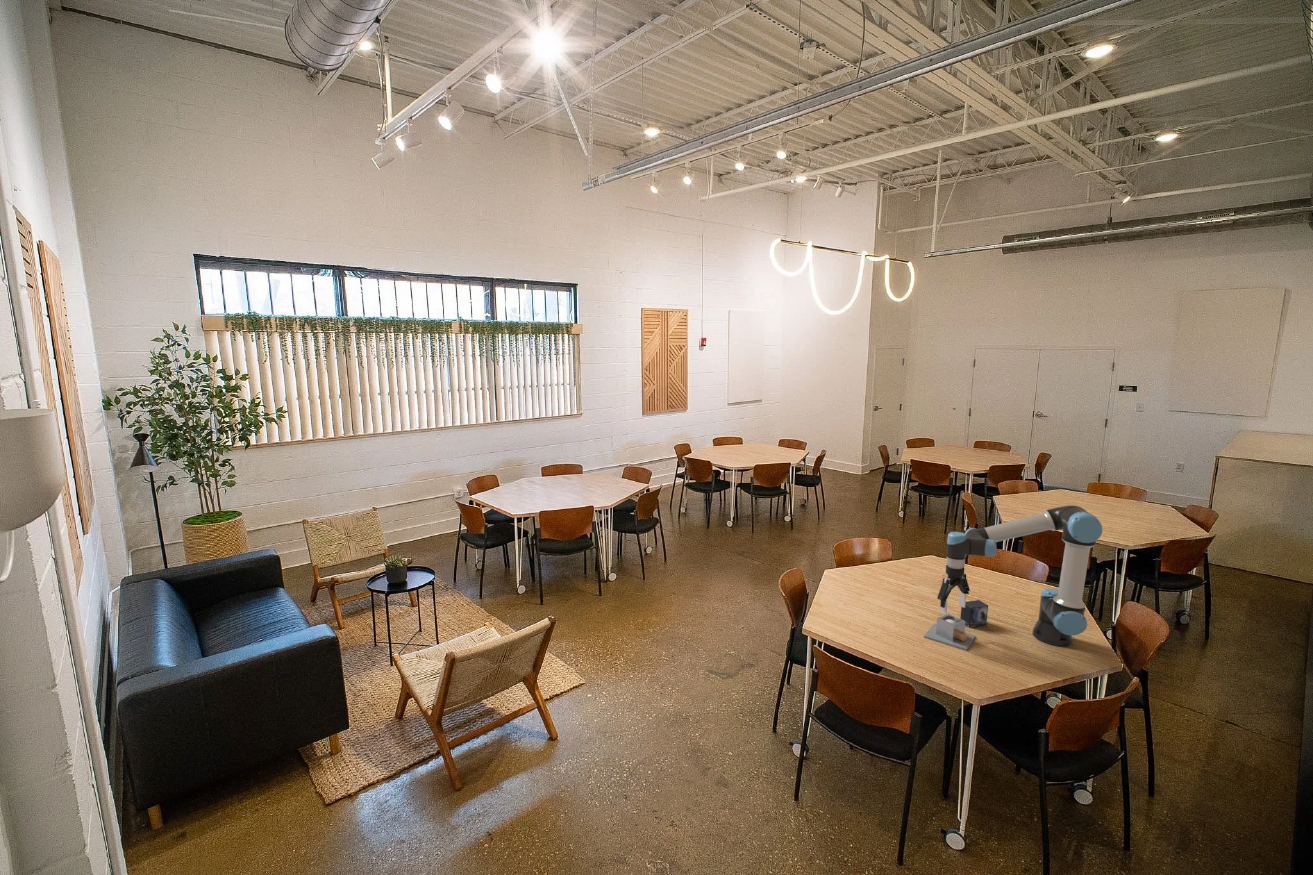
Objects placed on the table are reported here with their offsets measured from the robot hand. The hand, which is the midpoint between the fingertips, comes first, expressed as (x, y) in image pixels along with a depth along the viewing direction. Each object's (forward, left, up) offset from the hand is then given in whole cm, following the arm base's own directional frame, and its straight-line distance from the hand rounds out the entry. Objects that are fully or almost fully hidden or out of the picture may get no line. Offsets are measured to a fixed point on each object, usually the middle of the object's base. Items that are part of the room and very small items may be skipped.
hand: (952, 610), depth 264 cm
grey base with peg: (0, 0, -14) cm, 14 cm away
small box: (-5, -22, -14) cm, 26 cm away
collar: (-1, +1, -13) cm, 13 cm away
